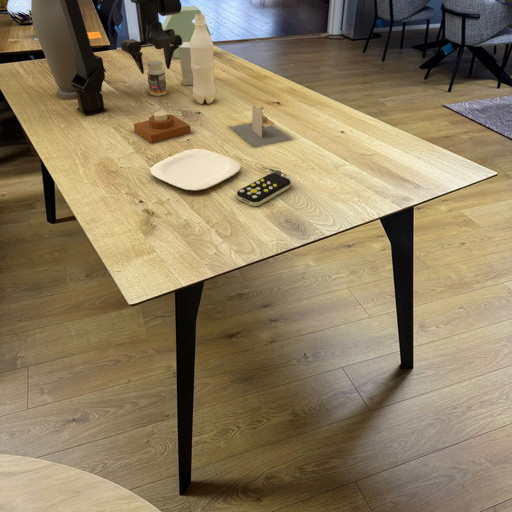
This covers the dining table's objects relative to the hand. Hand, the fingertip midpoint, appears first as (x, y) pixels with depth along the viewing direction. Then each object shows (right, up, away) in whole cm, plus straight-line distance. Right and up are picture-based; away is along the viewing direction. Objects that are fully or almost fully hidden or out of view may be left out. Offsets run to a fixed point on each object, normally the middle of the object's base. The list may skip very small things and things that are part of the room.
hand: (155, 71), depth 154 cm
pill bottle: (0, -6, +5) cm, 7 cm away
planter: (+4, +23, +44) cm, 49 cm away
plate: (+18, -41, -42) cm, 61 cm away
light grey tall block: (+11, +1, +14) cm, 18 cm away
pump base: (+7, -25, -22) cm, 34 cm away
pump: (+7, -23, -24) cm, 34 cm away
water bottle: (+16, -11, -2) cm, 19 cm away
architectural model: (+34, -26, -22) cm, 48 cm away
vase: (-29, -6, +4) cm, 29 cm away
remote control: (+34, -46, -49) cm, 76 cm away
